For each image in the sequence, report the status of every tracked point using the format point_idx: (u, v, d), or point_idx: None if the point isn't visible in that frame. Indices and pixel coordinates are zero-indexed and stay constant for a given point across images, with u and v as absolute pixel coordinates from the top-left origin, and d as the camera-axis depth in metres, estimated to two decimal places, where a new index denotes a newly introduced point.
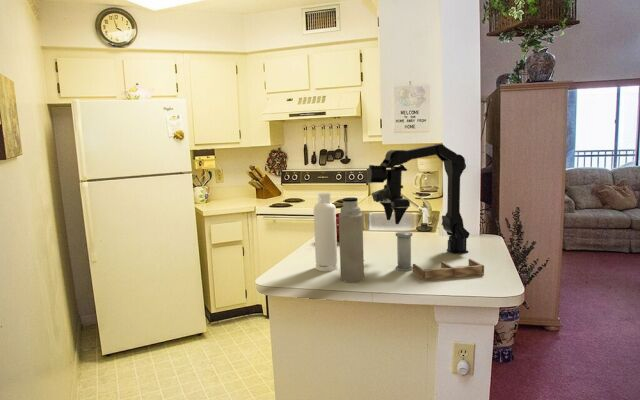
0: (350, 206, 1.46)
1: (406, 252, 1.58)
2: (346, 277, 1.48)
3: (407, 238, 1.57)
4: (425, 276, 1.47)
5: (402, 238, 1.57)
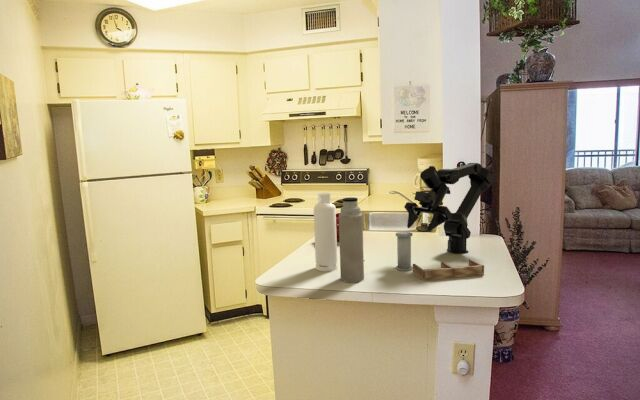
0: (350, 206, 1.46)
1: (406, 252, 1.58)
2: (346, 277, 1.48)
3: (407, 238, 1.57)
4: (425, 276, 1.47)
5: (402, 238, 1.57)
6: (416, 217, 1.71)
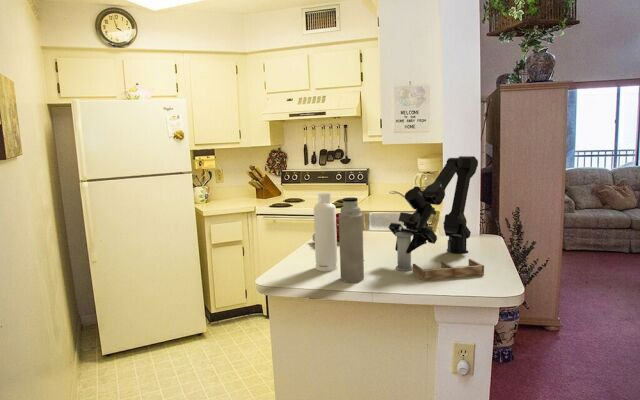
0: (350, 206, 1.46)
1: (406, 252, 1.58)
2: (346, 277, 1.48)
3: (407, 238, 1.57)
4: (425, 276, 1.47)
5: (402, 238, 1.57)
6: None
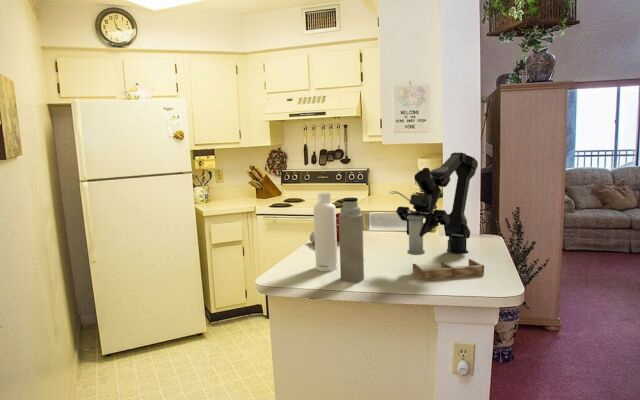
0: (350, 206, 1.46)
1: (419, 236, 1.53)
2: (346, 277, 1.48)
3: (420, 221, 1.52)
4: (425, 276, 1.47)
5: (415, 221, 1.52)
6: None
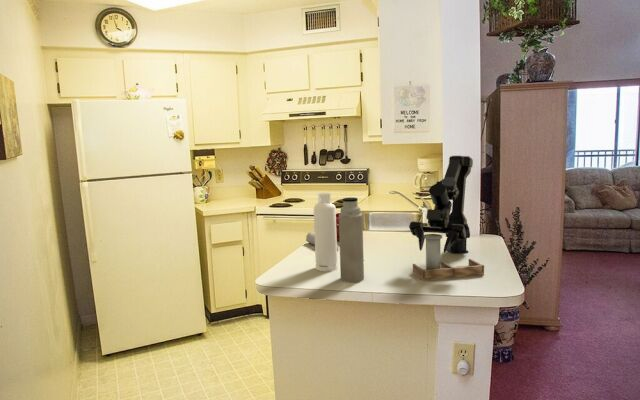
0: (350, 206, 1.46)
1: (438, 256, 1.49)
2: (346, 277, 1.48)
3: (439, 240, 1.49)
4: (425, 276, 1.47)
5: (434, 241, 1.48)
6: None
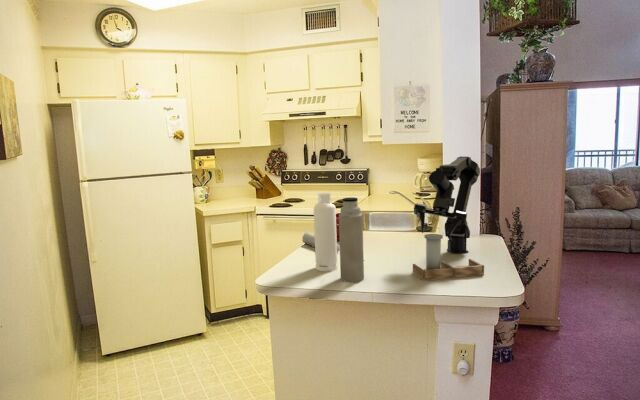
0: (350, 206, 1.46)
1: (438, 256, 1.49)
2: (346, 277, 1.48)
3: (439, 240, 1.49)
4: (425, 276, 1.47)
5: (434, 241, 1.48)
6: None
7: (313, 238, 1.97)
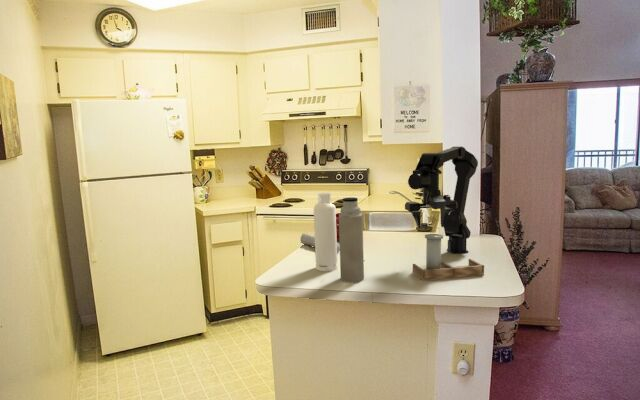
0: (350, 206, 1.46)
1: (438, 256, 1.49)
2: (346, 277, 1.48)
3: (439, 240, 1.49)
4: (425, 276, 1.47)
5: (435, 241, 1.48)
6: None
7: (312, 238, 1.97)
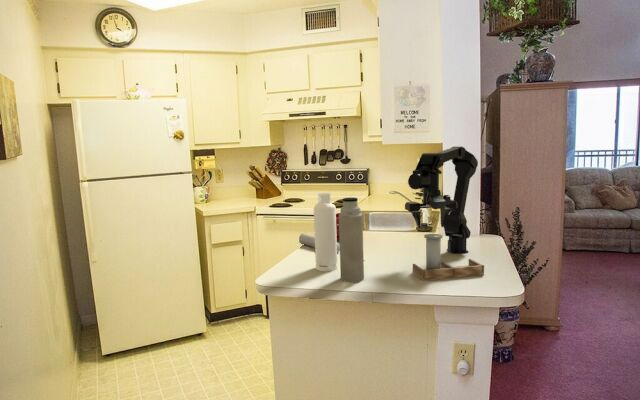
0: (350, 206, 1.46)
1: (438, 255, 1.49)
2: (346, 277, 1.48)
3: (439, 240, 1.49)
4: (425, 276, 1.47)
5: (434, 240, 1.49)
6: None
7: (311, 238, 1.96)
